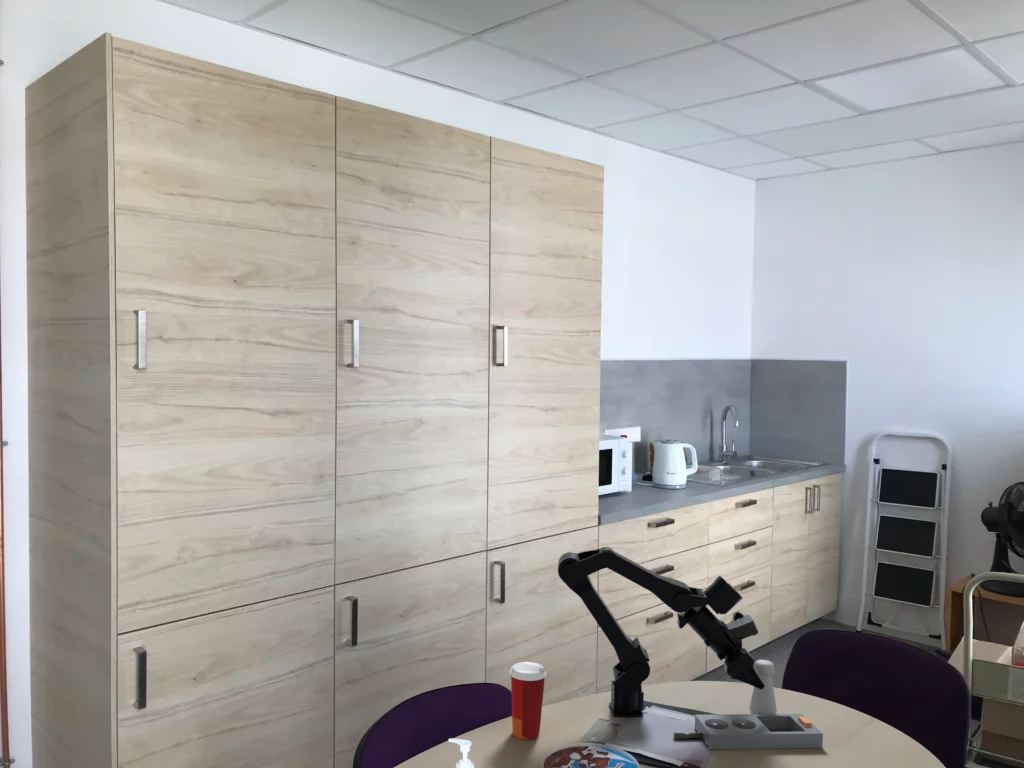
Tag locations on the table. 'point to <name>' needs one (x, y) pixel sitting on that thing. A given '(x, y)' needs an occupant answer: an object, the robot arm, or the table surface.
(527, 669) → the paper cup
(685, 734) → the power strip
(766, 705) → the salt shaker
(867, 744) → the table surface
